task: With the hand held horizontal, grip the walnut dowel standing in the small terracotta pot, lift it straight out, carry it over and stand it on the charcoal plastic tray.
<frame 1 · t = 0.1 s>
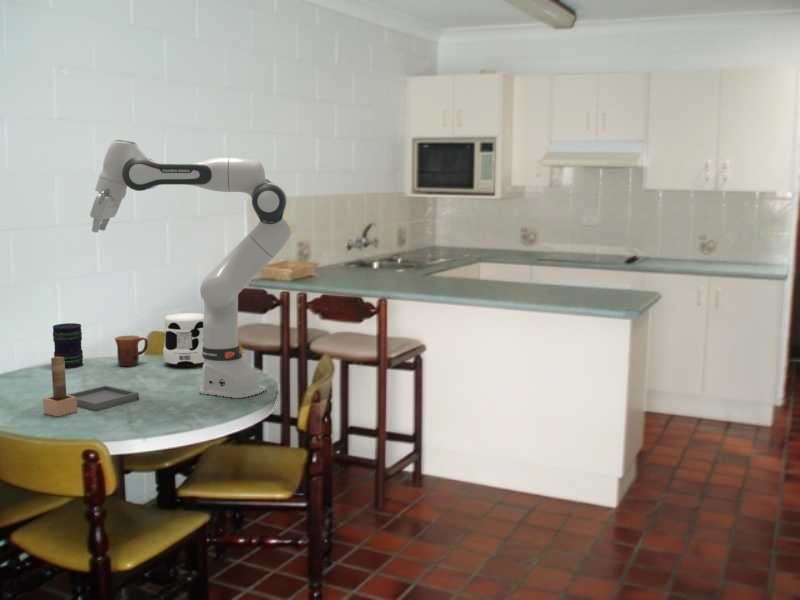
hand: (98, 231, 271), 52 cm above the table, tool tilted 20°, fingers open, 8 cm apart
dowel: (60, 410, 253), resting on pot
pot: (60, 412, 253), on the table
milk container: (187, 364, 318), on the table
storage jar: (69, 366, 313), on the table
tray: (101, 400, 266), on the table
mug: (132, 364, 317), on the table
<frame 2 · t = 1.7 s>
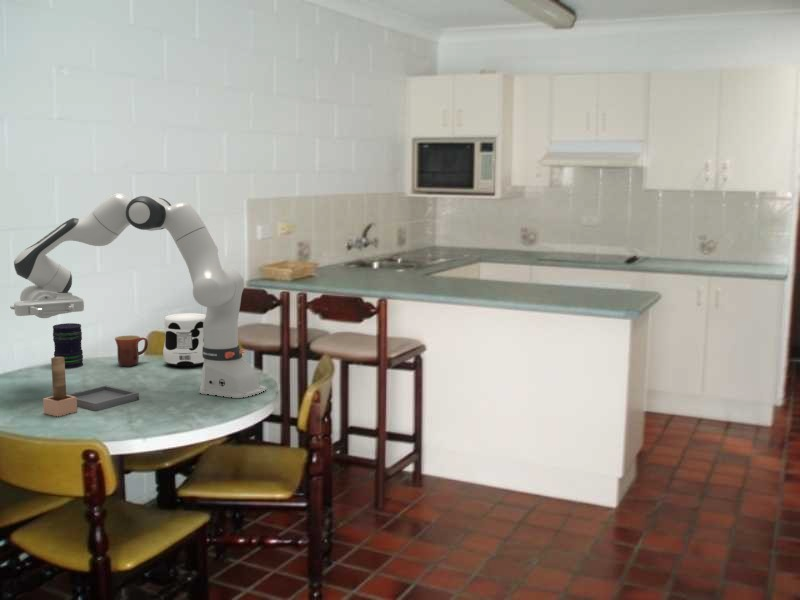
hand: (55, 310, 261), 29 cm above the table, tool horizontal, fingers open, 8 cm apart
nothing on the table moved.
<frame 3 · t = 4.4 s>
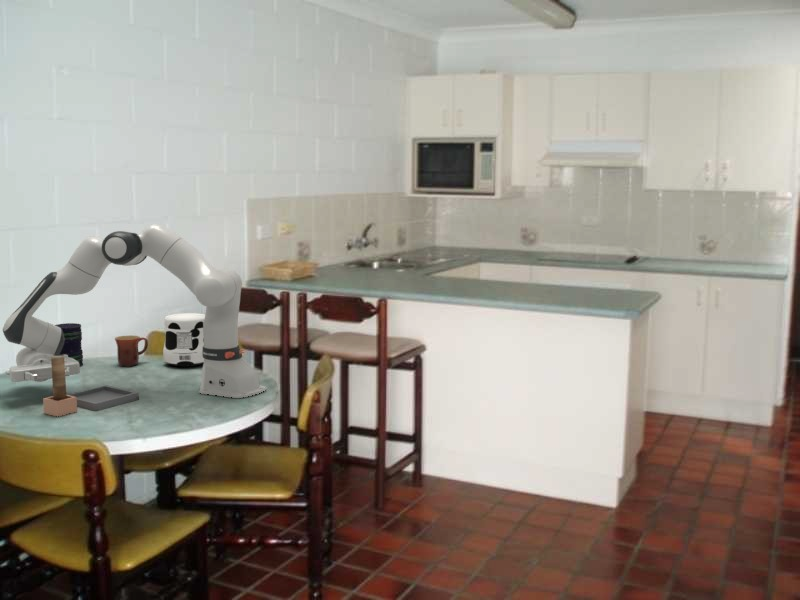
hand: (51, 375, 259), 9 cm above the table, tool horizontal, fingers open, 8 cm apart
nothing on the table moved.
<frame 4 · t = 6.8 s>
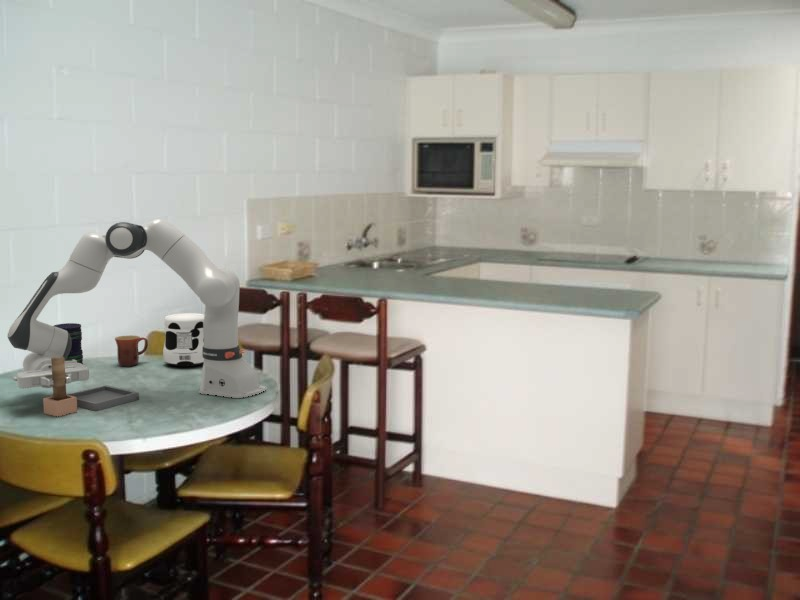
hand: (59, 381, 251), 10 cm above the table, tool horizontal, fingers closed on dowel, 4 cm apart
dowel: (60, 410, 253), point 1 cm above the table, touching gripper, pot
everything else where it was.
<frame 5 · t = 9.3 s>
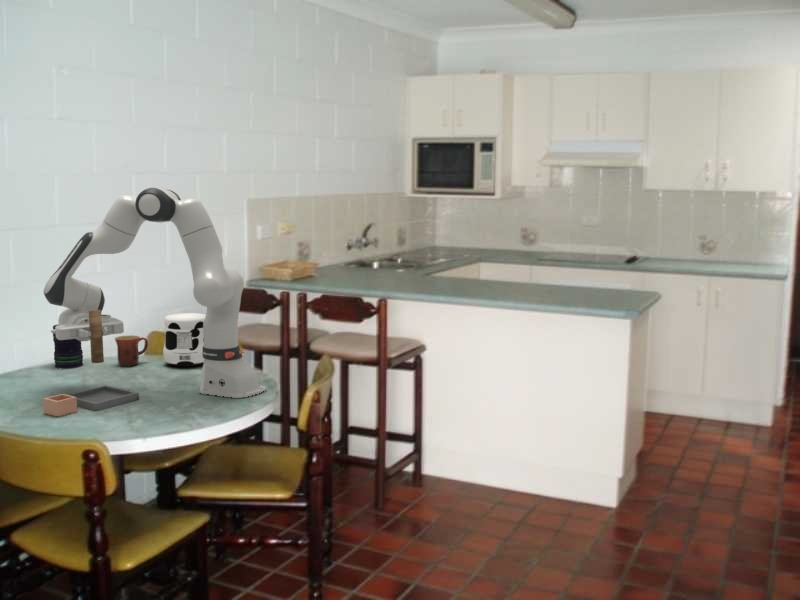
hand: (97, 333, 261), 22 cm above the table, tool horizontal, fingers closed on dowel, 4 cm apart
dowel: (97, 361, 263), point 13 cm above the table, touching gripper
everything else where it was.
when the fingers open (12 cm above the table, at t = 11.7 s): dowel drops 1 cm, resting on tray.
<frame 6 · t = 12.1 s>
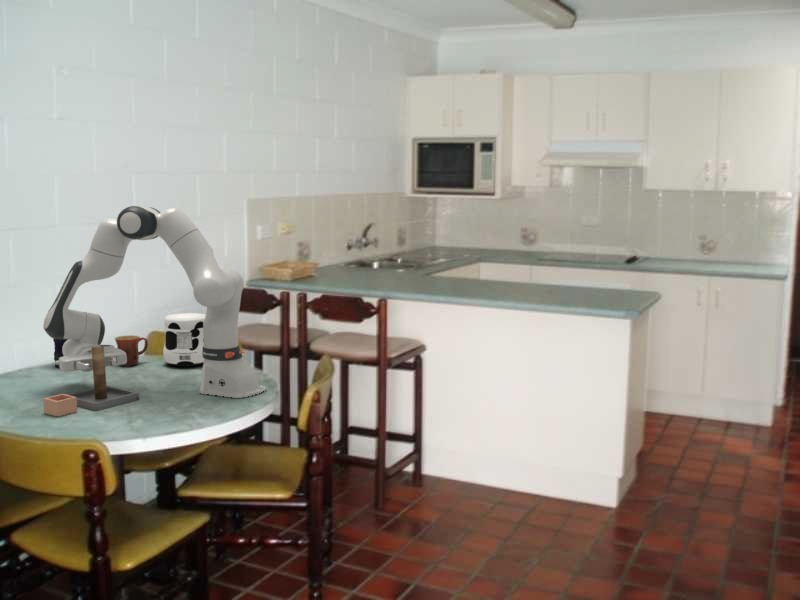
hand: (100, 365, 264), 11 cm above the table, tool horizontal, fingers open, 7 cm apart
dowel: (101, 397, 266), point 1 cm above the table, touching tray
everything else where it was.
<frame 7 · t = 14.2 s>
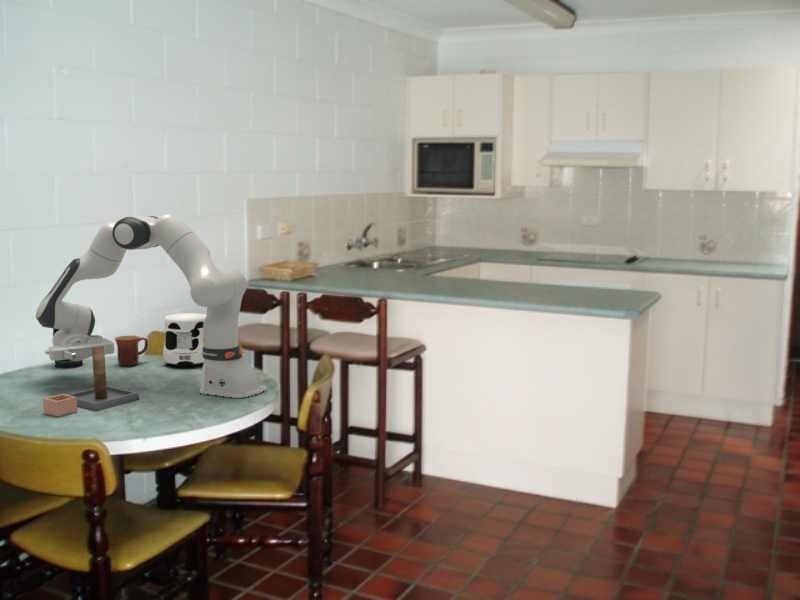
hand: (88, 354, 274), 13 cm above the table, tool horizontal, fingers open, 8 cm apart
nothing on the table moved.
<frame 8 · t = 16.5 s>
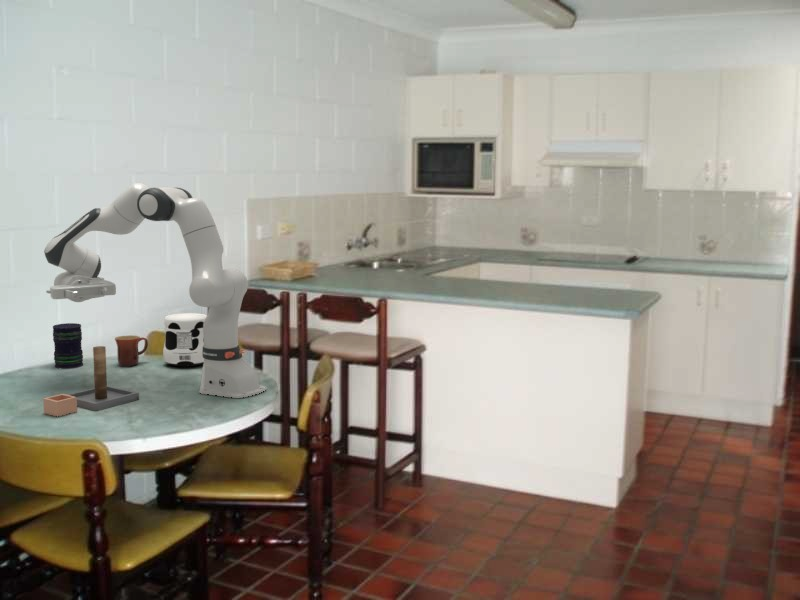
hand: (90, 293, 274), 32 cm above the table, tool horizontal, fingers open, 8 cm apart
nothing on the table moved.
at the end: dowel inside the target area on the tray (0.0 cm from its centre), point 1.0 cm above the tray's base; dowel tilted 1°; the gripper is holding nothing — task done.
